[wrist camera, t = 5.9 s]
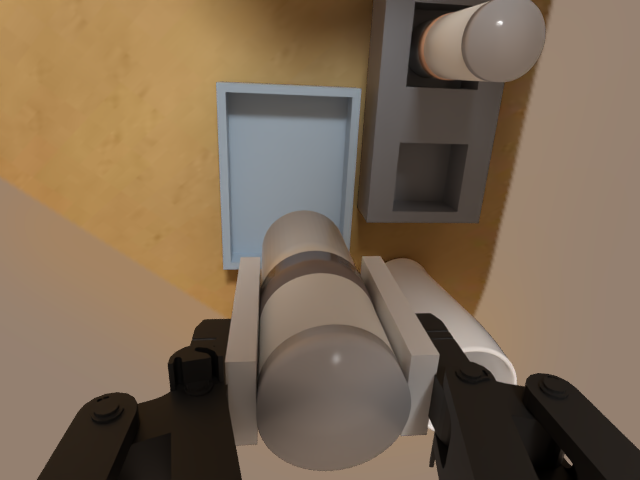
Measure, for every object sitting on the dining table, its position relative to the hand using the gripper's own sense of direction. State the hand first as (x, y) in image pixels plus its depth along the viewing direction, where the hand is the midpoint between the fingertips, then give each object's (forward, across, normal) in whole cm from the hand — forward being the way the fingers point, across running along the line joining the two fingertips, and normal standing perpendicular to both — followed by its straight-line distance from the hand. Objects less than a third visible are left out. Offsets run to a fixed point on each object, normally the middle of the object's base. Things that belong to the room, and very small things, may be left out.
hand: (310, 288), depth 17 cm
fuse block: (+19, +10, +6) cm, 23 cm away
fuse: (+18, +10, +10) cm, 23 cm away
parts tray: (+19, 0, 0) cm, 19 cm away
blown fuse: (+4, 0, 0) cm, 4 cm away
